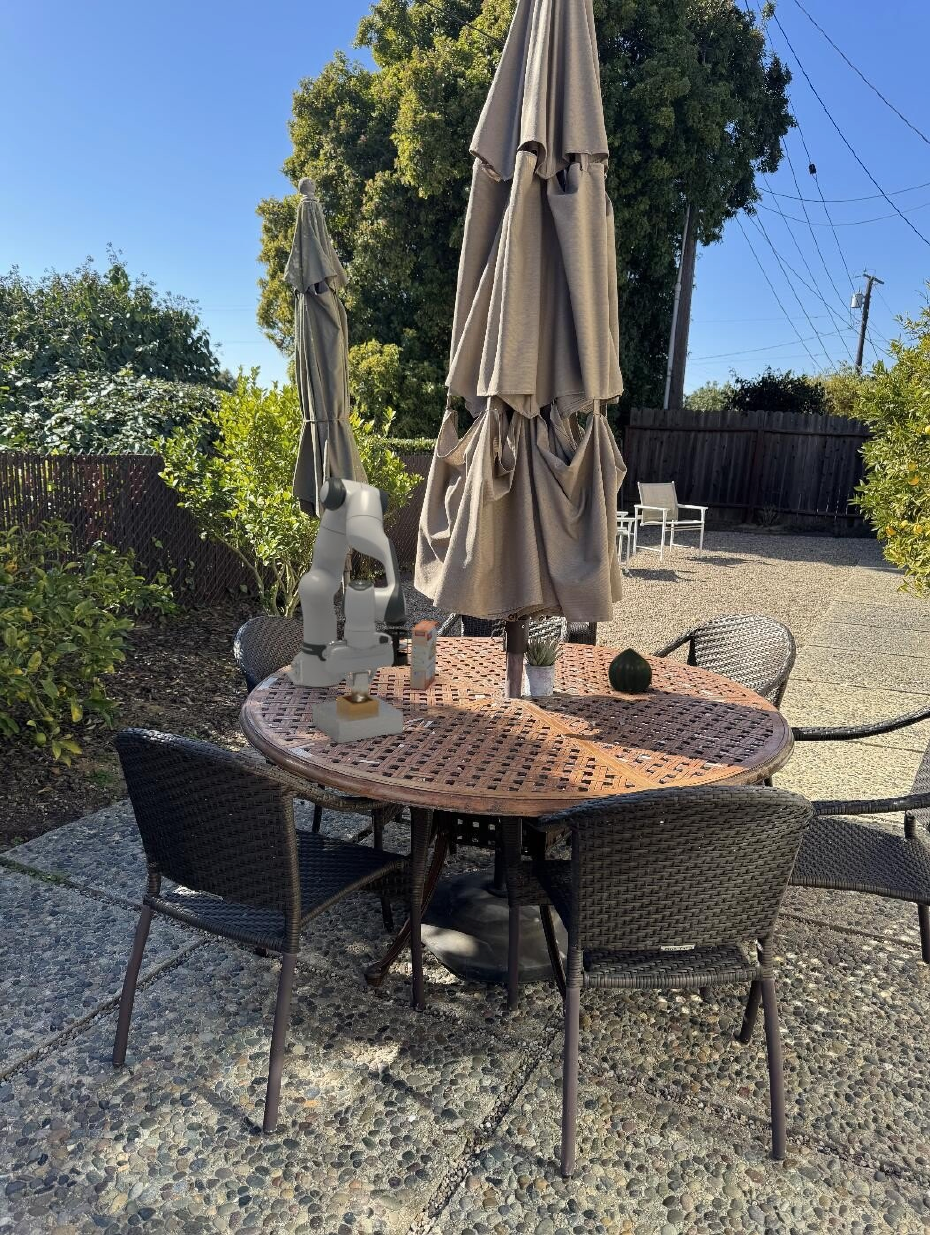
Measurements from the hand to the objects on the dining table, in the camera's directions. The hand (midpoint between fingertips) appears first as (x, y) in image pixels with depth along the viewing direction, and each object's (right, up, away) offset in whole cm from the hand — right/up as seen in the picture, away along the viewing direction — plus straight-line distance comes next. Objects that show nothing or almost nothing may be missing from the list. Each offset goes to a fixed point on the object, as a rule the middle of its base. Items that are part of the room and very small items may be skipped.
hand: (359, 684), depth 248 cm
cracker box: (+16, -4, +47) cm, 50 cm away
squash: (+87, -6, +51) cm, 101 cm away
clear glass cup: (0, -4, +1) cm, 4 cm away
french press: (+4, +2, +72) cm, 72 cm away
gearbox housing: (-1, -13, +3) cm, 13 cm away
